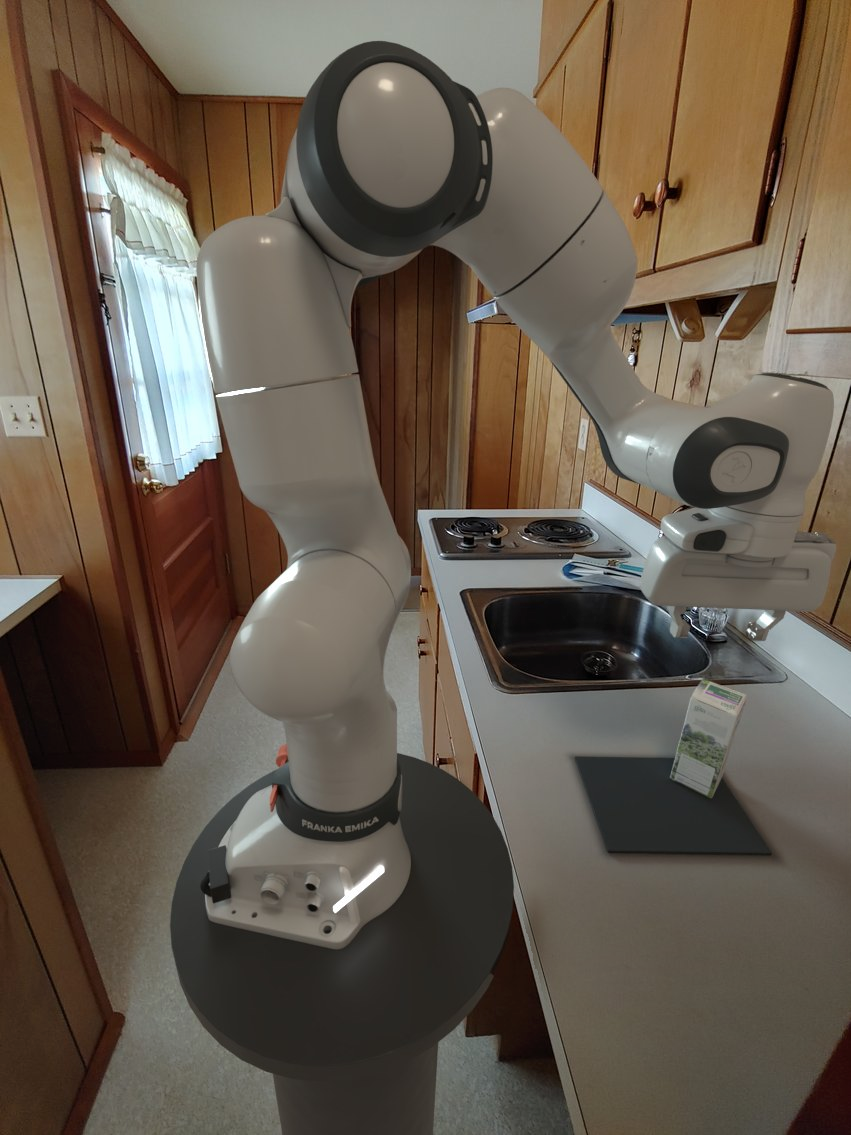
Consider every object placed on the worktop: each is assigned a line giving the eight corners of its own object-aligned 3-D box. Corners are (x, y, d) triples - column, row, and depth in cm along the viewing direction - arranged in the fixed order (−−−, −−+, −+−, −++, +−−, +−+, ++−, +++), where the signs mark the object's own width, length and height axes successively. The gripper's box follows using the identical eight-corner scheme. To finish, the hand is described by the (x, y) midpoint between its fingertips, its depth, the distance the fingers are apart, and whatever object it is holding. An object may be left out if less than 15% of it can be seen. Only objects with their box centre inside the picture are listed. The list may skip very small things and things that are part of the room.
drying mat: (607, 852, 67) (608, 850, 67) (574, 758, 81) (574, 756, 81) (771, 855, 67) (772, 852, 67) (708, 760, 82) (709, 758, 81)
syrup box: (722, 777, 78) (749, 692, 72) (711, 801, 74) (738, 714, 68) (681, 757, 81) (703, 675, 76) (668, 780, 77) (690, 695, 71)
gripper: (821, 524, 64) (785, 627, 70) (648, 516, 64) (625, 620, 69) (861, 543, 58) (817, 654, 64) (671, 535, 58) (643, 647, 63)
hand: (716, 637), depth 67 cm, fingers open, 8 cm apart
